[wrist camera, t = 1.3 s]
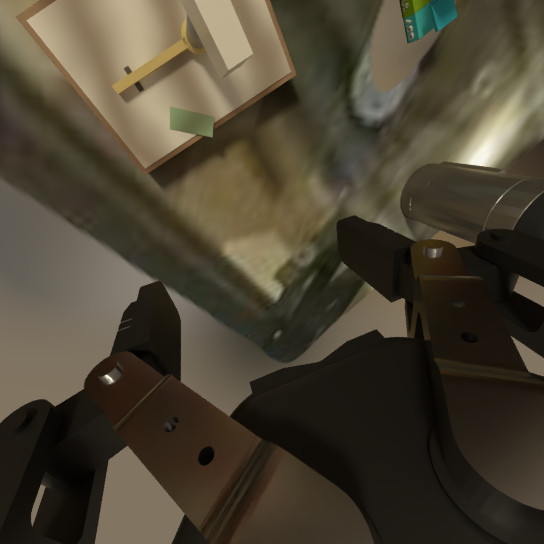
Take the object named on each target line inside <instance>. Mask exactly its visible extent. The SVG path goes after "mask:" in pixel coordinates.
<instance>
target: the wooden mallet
mask: <svg viewBox="0 0 544 544" xmlns="http://www.w3.org/2000/svg"><path fill="white" fill-rule="evenodd" d="M180 1H181V3H182V5H183V7H184V9H185V11H186V13H187V19H185V21H184V22H183V24H182V28H181V36H182V39H181V40H180V41H178V42H177V43H175V44H174V45H172V46H171V47H169V48H168V49H166V50H165V51H163V52H162V53H160V54H159V55H157V56H156V57H154V58H153V59H151V60H150V61H148V62H147V63H145V64H144V65H142V66H141V67H139V68H138V69H136V70H135V71H133V72H132V73H130V74H129V75H127V76H126V77H124V78H123V79H121V80H120V81H118V82H117V83H115V84H114V85H112V87H113V88H114V90H115V91H116V92H117V94H118V95H119V94H120V93H122V92H123V91H125V90H126V89H128V88H129V87H131V86H132V85H134V84H135V83H137V82H138V81H140V80H141V79H143V78H144V77H146V76H147V75H149V74H150V73H152V72H153V71H155V70H156V69H158V68H159V67H161V66H162V65H164V64H165V63H167V62H168V61H170V60H171V59H173V58H174V57H176V56H177V55H179V54H180V53H182V52H183V51H185V50H186V49H188V50H189V51H190V52H191V53H193V54H195V55H202V54H204V53H206V52H207V54H208V56H209V58H210V60H211V61H212V63H213V65H214V67H215V69H216V71H217V73H218V75H219V77H220V79H223V78H224V77H226V76H227V75H229V74H230V73H232V72H233V71H235V70H236V69H238V68H239V67H241V66H242V65H243V64H244V63H245V62H246V61H247V60H248V59H249V58H250V57H251V56H252V55H253V52H252V49H251V47H250V45H249V42H248V40H247V38H246V35H245V33H244V31H243V28H242V26H241V24H240V21H239V19H238V17H237V14H236V12H235V10H234V7H233V5H232V3H231V0H180Z"/></svg>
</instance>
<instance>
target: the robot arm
mask: <svg viewBox="0 0 544 544" xmlns="http://www.w3.org/2000/svg"><path fill="white" fill-rule="evenodd" d="M401 207H402V210H403V212H404V214H405V215H406V216H407V217H409V218H411V219H414V220H416V221H419V222H421V223H424V224H426V225H429V226H431V227H434V228H436V229H439V230H441V231H444V232H447V233H449V234H452V235H454V236H457V237H460V238H462V239H464V240H467V241H470V242H472V243H475V246H468V247H461V248H456V247H455V246H454V245H453V244H451V243H449V242H446V241H442V240H434V239H433V240H432V239H429V240H421V241H418V242H415V241H413V240H411V239H409V238H407V237H405V236H403V235H401V234H399V233H397V232H396V233H395V232H394V231H393V230H391V229H388V228H386V227H384V226H382V225H380V224H377V223H372V222H367V221H365V220H363V219H361V218H359V217H357V216H350V217H347V218H345V219H342V220H339V221H338V222H337V239H338V251H339V256H340V258H341V260H342V262H343V263H344V264H345V265H346V266H348V267H349V268H350V269H351V270H353V271H354V272H355V273H356V274H357V275H359V276H360V277H361V278H362V279H363V280H365V281H366V282H367V283H368V284H369V285H371V286H372V287H373V288H374V289H375V290H377V291H378V292H379V293H380V294H382V295H383V296H384V297H385V298H386V299H388V300H389V301H390V302H394V301H396V300H399V299H401V298H404V299H405V316H406V326H407V337H408V338H407V337H390V338H384V337H383V336H382V335H381V333H379V332H378V330H373V331H371V332H369V333H366V334H364V335H361V336H359V337H357V338H354V339H352V340H349V341H347V342H346V343H344V344H343V345H342V346H340V347H339V348H338V349H337V350H335V351H334V352H332V353H331V354H330V355H329V356H327V357H326V358H325V359H323V360H322V361H319V362H317V363H311V364H305V365H300V366H294V367H288V368H282V369H280V370H278V371H275V372H273V373H270V374H268V375H266V376H263V377H261V378H258V379H256V380H254V381H251V382H250V386H251V389H252V394H251V395H250V396H248V397H247V398H246V399H245V400H244V401H243V402H242V403H240V404H239V406H238V407H237V408H236V409H235V410H234V411H233V413H232V414H231V415H230V416H228V415H227V414H225V413H224V412H223V411H221V410H220V409H218V408H217V407H215V406H214V405H213V404H211V403H210V402H208V401H207V400H206V399H204V398H203V397H201V396H200V395H199V394H197V393H196V392H194V391H193V390H191V389H190V388H189V387H187V386H186V385H185V384H183V383H182V382H181V320H180V316H179V313H178V311H177V308H176V307H175V305H174V303H173V301H172V299H171V298H170V296H169V294H168V292H167V290H166V288H165V287H164V285H163V283H162V282H161V281H157V282H154V283H151V284H148V285H145V286H142V287H141V288H140V290H139V294H138V298H137V301H135V302H132V303H131V304H130V305H129V306H128V308H127V309H126V310H125V311H124V313H123V316H122V319H121V324H120V325H119V329H118V330H119V331H118V332H117V335H116V338H115V341H114V345H113V348H112V351H111V354H110V356H109V357H107V358H105V359H104V360H102V361H101V362H100V363H99V364H97V365H96V366H95V367H94V368H93V369H92V370H91V372H90V373H89V374H88V376H87V378H86V379H85V382H84V389H83V390H81V391H80V392H78V393H77V394H75V395H73V396H72V397H70V398H69V399H67V400H65V401H64V402H62V403H60V404H59V405H57V406H54V405H52V404H51V403H50V402H49V401H47V400H44V399H39V400H35V401H32V402H30V403H28V404H25V405H24V406H22V407H20V408H19V409H17V410H16V411H14V412H13V413H11V414H10V415H9V416H8V417H6V418H5V419H4V420H3V421H2V422H1V423H0V544H95V538H96V532H97V526H98V520H99V514H100V508H101V502H102V496H103V490H104V484H105V478H106V472H107V466H108V460H109V459H110V458H112V457H113V456H114V455H115V454H117V453H118V452H120V451H121V450H122V449H124V448H125V447H126V446H128V447H129V448H130V449H131V450H132V451H133V453H134V454H135V455H136V456H137V457H138V458H139V460H140V461H141V462H142V463H143V464H144V466H145V467H146V468H147V469H148V471H149V472H150V473H151V474H152V475H153V476H154V478H155V479H156V480H157V481H158V482H159V484H160V485H161V486H162V487H163V488H164V490H165V491H166V492H167V493H168V494H169V496H170V497H171V498H172V499H173V500H174V501H175V503H176V504H177V505H178V506H179V507H180V509H181V510H182V511H183V512H184V513H185V515H184V517H183V519H182V521H181V524H180V526H179V528H178V531H177V533H176V535H175V538H174V540H173V542H172V544H544V376H540V375H537V374H534V373H530V372H529V371H528V369H527V368H526V366H525V364H524V362H523V360H522V358H521V356H520V354H519V351H518V349H517V348H516V345H515V343H514V341H513V339H512V337H514V338H515V339H517V340H518V341H520V342H521V343H523V344H524V345H525V346H527V347H528V348H530V349H531V350H533V351H534V352H536V353H537V354H539V355H540V356H542V357H543V358H544V307H543V306H541V305H539V304H537V303H535V302H533V301H532V300H530V299H528V298H526V297H524V296H522V295H520V294H518V293H516V292H515V291H513V290H514V287H515V285H516V282H517V280H518V277H519V275H520V276H522V277H524V278H526V279H528V280H530V281H533V282H535V283H537V284H539V285H541V286H543V287H544V179H542V178H533V177H526V176H519V175H512V174H506V172H505V170H504V169H500V168H492V167H484V166H476V165H468V164H460V163H452V162H443V163H441V164H428V165H425V166H423V167H421V168H420V169H418V170H417V171H416V172H415V173H414V174H413V175H412V176H411V177H410V179H409V180H408V182H407V183H406V185H405V188H404V190H403V193H402V197H401ZM511 336H512V337H511ZM41 484H42V485H44V486H45V487H46V488H45V491H44V494H43V497H42V500H41V503H40V506H39V509H38V512H37V515H36V518H35V521H34V524H33V527H32V524H31V512H32V508H33V505H34V502H35V499H36V496H37V493H38V490H39V488H40V485H41Z"/></svg>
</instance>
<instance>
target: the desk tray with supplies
mask: <svg viewBox="0 0 544 544" xmlns="http://www.w3.org/2000/svg"><path fill="white" fill-rule="evenodd" d="M231 3H232V5H233V7H234V10H235V12H236V14H237V17H238V19H239V21H240V24H241V26H242V28H243V31H244V33H245V35H246V38H247V40H248V42H249V45H250V47H251V49H252V52H253V55H252V56H251V57H250V58H249V59H248V60H247V61H246V62H245V63H244V64H243V65H242V66H241V67H239V68H238V69H236V70H235V71H233V72H232V73H230V74H229V75H227V76H226V77H224V78H223V79H220V77H219V75H218V73H217V71H216V69H215V67H214V65H213V63H212V61H211V60H210V58H209V56H208V54H207V52H206V53H204V54H202V55H195V54H193V53H191V52H190V51H189V50H188V49H186V50H185V51H183V52H182V53H180V54H179V55H177V56H176V57H174V58H173V59H171V60H170V61H168V62H167V63H165V64H164V65H162V66H161V67H159V68H158V69H156V70H155V71H153V72H152V73H150V74H149V75H147V76H146V77H144V78H143V79H141V80H140V81H138V82H137V83H135V84H134V85H132V86H131V87H129V88H128V89H126V90H125V91H123V92H122V93H120V94H119V95H118V94H117V92H116V91H115V90H114V88H113V87H112V85H114V84H115V83H117V82H118V81H120V80H121V79H123V78H124V77H126V76H127V75H129V74H130V73H132V72H133V71H135V70H136V69H138V68H139V67H141V66H142V65H144V64H145V63H147V62H148V61H150V60H151V59H153V58H154V57H156V56H157V55H159V54H160V53H162V52H163V51H165V50H166V49H168V48H169V47H171V46H172V45H174V44H175V43H177V42H178V41H180V40H181V39H182V36H181V28H182V24H183V22H184V21H185V19H187V13H186V11H185V9H184V7H183V5H182V3H181V1H180V0H40V1H38V2H37V3H35V4H34V5H32V6H31V7H29V8H28V9H26V10H25V11H23V12H22V13H20V14H19V15H17V16H16V18H17V19H18V20H19V21H20V23H21V24H22V25H23V26H24V28H25V29H26V30H27V31H28V33H29V34H30V35H31V36H32V37H33V39H34V40H35V41H36V42H37V44H38V45H39V46H40V47H41V48H42V50H43V51H44V52H45V53H46V55H47V56H48V57H49V58H50V59H51V61H52V62H53V63H54V64H55V66H56V67H57V68H58V69H59V71H60V72H61V73H62V74H63V75H64V77H65V78H66V79H67V80H68V82H69V83H70V84H71V85H72V86H73V88H74V89H75V90H76V91H77V93H78V94H79V95H80V96H81V98H82V99H83V100H84V101H85V102H86V104H87V105H88V106H89V107H90V109H91V110H92V111H93V112H94V113H95V115H96V116H97V117H98V118H99V120H100V121H101V122H102V123H103V125H104V126H105V127H106V128H107V129H108V131H109V132H110V133H111V134H112V136H113V137H114V138H115V139H116V140H117V142H118V143H119V144H120V145H121V147H122V148H123V149H124V150H125V151H126V153H127V154H128V155H129V156H130V158H131V159H132V160H133V161H134V163H135V164H136V165H137V166H138V167H139V169H140V170H141V171H142V172H143V174H144V175H146V174H148V173H149V172H151V171H152V170H154V169H155V168H157V167H158V166H160V165H161V164H163V163H164V162H166V161H167V160H169V159H170V158H172V157H173V156H175V155H176V154H178V153H179V152H181V151H182V150H184V149H185V148H187V147H188V146H190V145H191V144H193V143H194V142H196V141H197V140H199V139H200V138H202V137H203V136H208V137H213V130H214V129H216V128H217V127H219V126H220V125H222V124H223V123H225V122H226V121H228V120H229V119H231V118H232V117H234V116H235V115H237V114H238V113H240V112H241V111H243V110H244V109H246V108H247V107H249V106H250V105H252V104H253V103H255V102H256V101H258V100H259V99H261V98H262V97H264V96H265V95H267V94H268V93H270V92H271V91H273V90H274V89H276V88H277V87H279V86H280V85H282V84H283V83H285V82H287V81H288V80H290V79H291V78H293V77H294V76H296V75H297V74H296V72H295V69H294V66H293V63H292V61H291V58H290V55H289V52H288V50H287V47H286V44H285V41H284V38H283V36H282V33H281V30H280V27H279V25H278V22H277V19H276V16H275V14H274V11H273V8H272V5H271V2H270V0H231Z"/></svg>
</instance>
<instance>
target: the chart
mask: <svg viewBox="0 0 544 544" xmlns="http://www.w3.org/2000/svg"><path fill="white" fill-rule="evenodd" d="M399 2H400V8H401V13H402V18H403V22H404V27H405V33H406V38H407V43H410V42H413V41H415V40H418V39H420V38H421V37H422V36H424V35H425V34H427V33H428V32H429V31H430V30H432V29H433V28H435V31H436V32H437V31H439V30H440V29H442V28H443V27H444V26H446V25H447V24H448V23H449V22H451V21H452V20H453V19H455V18H456V17H457V11H456V7H455V3H454V0H399Z"/></svg>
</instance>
